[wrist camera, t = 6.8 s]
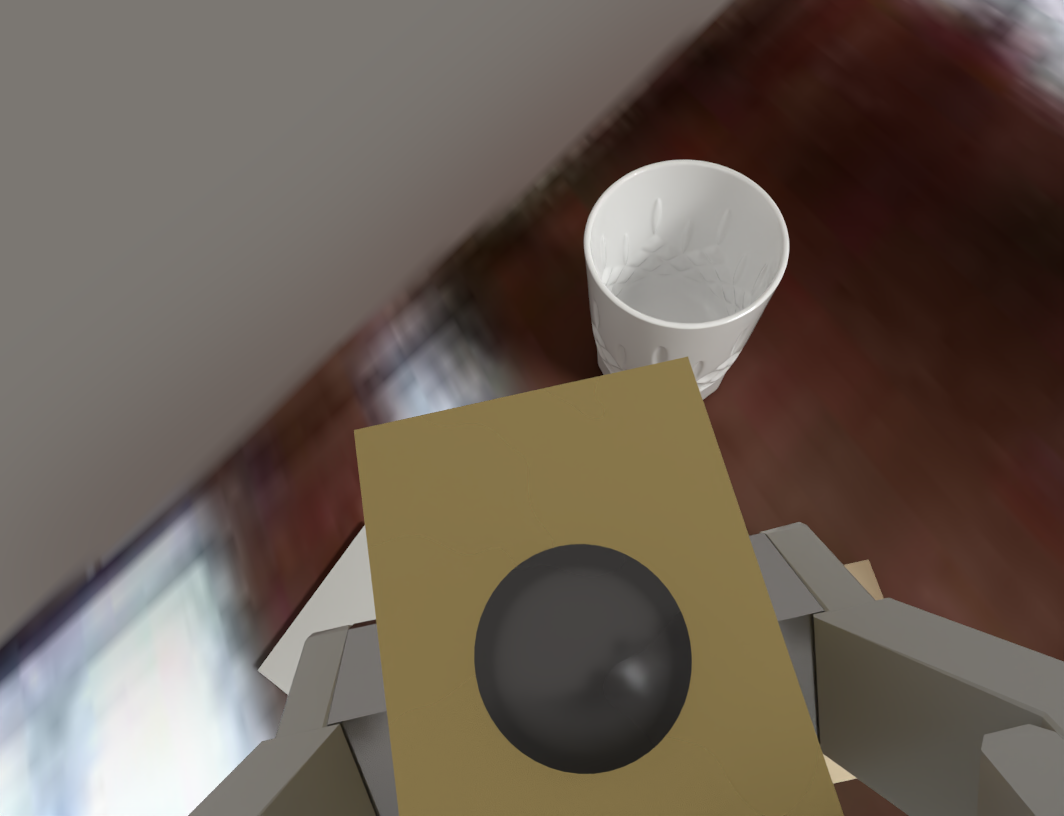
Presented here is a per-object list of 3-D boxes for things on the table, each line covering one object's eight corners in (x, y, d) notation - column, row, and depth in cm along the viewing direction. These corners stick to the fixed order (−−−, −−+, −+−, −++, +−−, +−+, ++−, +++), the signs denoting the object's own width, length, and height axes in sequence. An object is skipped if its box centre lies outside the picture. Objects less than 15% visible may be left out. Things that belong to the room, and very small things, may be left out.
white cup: (769, 342, 36) (830, 222, 27) (678, 455, 34) (710, 367, 25) (646, 263, 39) (663, 128, 29) (555, 364, 37) (542, 254, 28)
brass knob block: (632, 539, 13) (702, 308, 5) (705, 810, 11) (961, 1032, 4) (475, 575, 13) (322, 393, 5) (524, 852, 11) (399, 1167, 4)
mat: (368, 525, 34) (366, 523, 34) (502, 617, 32) (501, 616, 32) (261, 670, 32) (257, 670, 32) (397, 780, 30) (395, 781, 30)
